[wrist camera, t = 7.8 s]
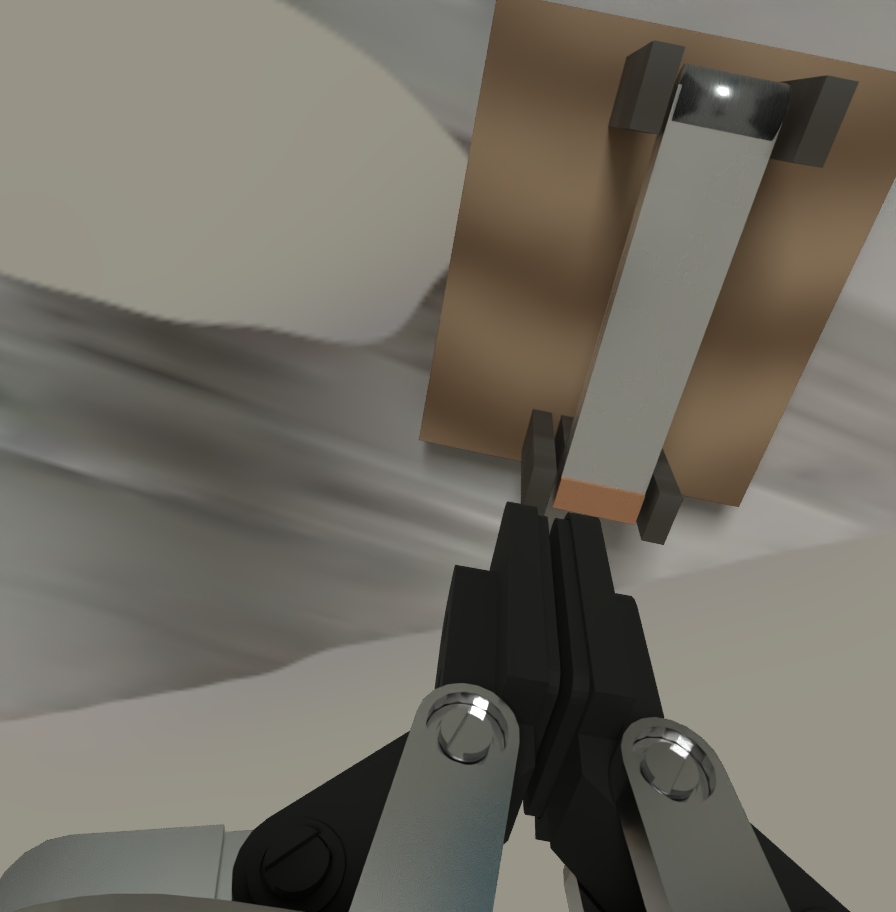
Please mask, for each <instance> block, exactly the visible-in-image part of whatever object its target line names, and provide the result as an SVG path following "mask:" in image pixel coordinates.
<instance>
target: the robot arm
mask: <svg viewBox="0 0 896 912" xmlns="http://www.w3.org/2000/svg"><path fill="white" fill-rule="evenodd" d="M522 800H523V807H524V813H525V815H531V816H535V836H536V839H537V840H543V841H548V842H550V846H551V849H552V850H553V851H554V852H555V854H556V855H557V856H558V857H559V858H560V859H561V861H562V862H563V863H564V864H565V866H564V871H563V873H564V886H565V891H566V897H567V902H568V907H569V912H850V911H849V910H848V909H847V908H845V907H844V906H843V905H842V904H841V903H840V902H839V901H838V900H836V899H835V898H834V897H833V896H832V895H831V894H830V893H829V892H827V891H826V890H825V889H824V888H823V887H822V886H821V885H820V884H818V883H817V882H816V881H815V880H814V879H813V878H812V877H811V876H809V875H808V874H807V873H806V872H805V871H804V870H803V869H802V868H800V867H799V866H798V865H797V864H796V863H795V862H794V861H793V860H791V859H790V858H789V857H788V856H787V855H786V854H785V853H784V852H782V851H781V850H780V849H779V848H778V847H777V846H776V845H775V844H774V843H772V842H771V841H770V840H769V839H768V838H767V837H766V836H765V835H763V834H762V833H761V832H760V831H759V830H758V829H757V828H755V827H754V826H753V825H752V824H751V823H750V822H749V820H748V818H747V816H746V813H745V811H744V809H743V807H742V805H741V803H740V800H739V798H738V796H737V794H736V792H735V790H734V787H733V786H732V783H731V781H730V779H729V777H728V774H727V772H726V770H725V768H724V766H723V764H722V762H721V761H720V759H719V757H718V756H717V754H716V753H715V751H714V750H713V749H712V748H711V746H709V744H708V743H707V742H706V741H705V740H704V739H703V738H702V737H700V736H699V735H698V734H696V733H695V732H693V731H692V730H691V729H689V728H688V727H686V726H684V725H681V724H679V723H677V722H675V721H672V720H668V719H664V714H663V711H662V706H661V702H660V698H659V694H658V690H657V686H656V682H655V677H654V673H653V669H652V665H651V661H650V657H649V653H648V649H647V645H646V640H645V636H644V633H643V628H642V624H641V620H640V616H639V612H638V608H637V604H636V602H635V600H634V598H633V597H632V596H628V595H622V594H617V593H615V591H614V586H613V581H612V577H611V572H610V567H609V562H608V557H607V552H606V547H605V543H604V538H603V533H602V528H601V523H600V520H599V518H597V517H592V516H586V515H580V514H575V513H567V515H566V516H565V519H558V518H556V519H555V520H554V522H553V525H552V528H551V531H550V535H549V527H548V518H547V516H541V515H538V509H537V507H536V506H530V505H524V504H519V503H513V502H507V503H506V506H505V509H504V513H503V517H502V521H501V525H500V530H499V534H498V538H497V542H496V546H495V550H494V554H493V558H492V562H491V566H490V571H487V570H481V569H476V568H470V567H465V566H459V565H455V568H454V572H453V576H452V581H451V586H450V591H449V596H448V601H447V606H446V612H445V617H444V623H443V630H442V637H441V644H440V652H439V660H438V668H437V675H436V683H435V690H433V691H432V692H431V693H430V694H429V695H427V696H426V697H425V698H424V699H423V701H422V703H421V704H420V706H419V708H418V710H417V713H416V715H415V718H414V721H413V724H412V727H411V730H410V731H409V732H407V733H405V734H404V735H402V736H401V737H399V738H397V739H396V740H394V741H393V742H391V743H389V744H388V745H386V746H384V747H383V748H381V749H380V750H378V751H376V752H375V753H373V754H371V755H370V756H368V757H367V758H365V759H363V760H362V761H360V762H358V763H357V764H355V765H353V766H352V767H350V768H349V769H347V770H345V771H344V772H342V773H341V774H339V775H337V776H336V777H334V778H332V779H331V780H329V781H327V782H326V783H324V784H323V785H321V786H319V787H318V788H316V789H314V790H313V791H311V792H310V793H308V794H306V795H305V796H303V797H302V798H300V799H298V800H297V801H295V802H293V803H292V804H290V805H289V806H287V807H285V808H284V809H282V810H280V811H279V812H277V813H276V814H274V815H272V816H271V817H269V818H268V819H266V820H265V821H264V822H263V823H262V824H260V825H259V826H258V827H257V828H255V829H254V830H246V831H232V832H224V825H209V826H194V827H180V828H166V829H151V830H135V831H121V832H105V833H91V834H76V835H68V836H63V837H59V838H55V839H50V840H47V841H45V842H43V843H41V844H40V845H38V846H36V847H35V848H33V849H31V850H29V851H27V852H25V853H24V854H23V855H22V856H21V857H20V858H19V859H18V860H17V861H16V862H15V863H14V864H12V866H10V867H9V868H8V869H7V870H6V871H5V872H4V874H3V875H2V877H1V879H0V912H492V911H493V905H494V899H495V892H496V886H497V880H498V874H499V867H500V861H501V855H502V849H503V844H505V843H506V842H507V841H508V839H509V836H510V834H511V831H512V828H513V825H514V822H515V820H516V817H517V814H518V812H519V809H520V806H521V804H522Z"/></svg>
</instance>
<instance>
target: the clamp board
mask: <svg viewBox="0 0 896 912" xmlns="http://www.w3.org/2000/svg"><path fill="white" fill-rule="evenodd" d="M685 63H687V64H692V65H697V66H702V67H706V68H711V69H716V70H721V71H726V72H731V73H736V74H741V75H746V76H751V77H756V78H761V79H766V80H771V81H776V82H781V83H786V84H789V85H790V89H791V94H790V101H789V105H788V109H787V112H786V115H785V117H784V120H783V123H782V125H781V128H780V131H779V133H778V136H777V139H776V142H775V144H774V147H773V150H772V152H771V155H770V158H769V160H768V163H767V166H766V169H765V171H764V174H763V177H762V179H761V182H760V185H759V187H758V190H757V193H756V196H755V198H754V201H753V204H752V206H751V209H750V212H749V215H748V217H747V220H746V223H745V225H744V228H743V231H742V233H741V236H740V239H739V242H738V244H737V247H736V250H735V252H734V255H733V258H732V260H731V263H730V266H729V269H728V271H727V274H726V277H725V279H724V282H723V285H722V287H721V290H720V293H719V296H718V298H717V301H716V304H715V306H714V309H713V312H712V315H711V317H710V320H709V323H708V325H707V328H706V331H705V333H704V336H703V339H702V342H701V344H700V347H699V350H698V352H697V355H696V358H695V360H694V363H693V366H692V369H691V371H690V374H689V377H688V379H687V382H686V385H685V387H684V390H683V393H682V396H681V398H680V401H679V404H678V406H677V409H676V412H675V415H674V417H673V420H672V423H671V425H670V428H669V431H668V433H667V436H666V439H665V442H664V444H663V447H662V450H661V452H660V455H659V458H658V460H657V463H656V466H655V469H654V471H653V474H652V477H651V479H650V482H649V485H648V487H647V490H646V493H645V498H644V501H643V504H642V506H641V509H640V512H639V514H638V517H637V520H636V522H637V525H638V529H639V533H640V536H641V540H642V541H647V542H652V543H657V544H661V545H664V543H665V541H666V538H667V536H668V533H669V531H670V529H671V526H672V524H673V522H674V519H675V517H676V515H677V512H678V510H679V507H680V505H681V503H682V500H683V496H682V495H684V496H688V497H693V498H698V499H703V500H707V501H712V502H717V503H722V504H726V505H731V506H736V507H739V505H740V503H741V501H742V499H743V497H744V495H745V493H746V491H747V488H748V486H749V484H750V482H751V480H752V478H753V476H754V474H755V472H756V470H757V467H758V465H759V463H760V461H761V459H762V457H763V455H764V453H765V451H766V448H767V446H768V444H769V442H770V440H771V438H772V436H773V434H774V432H775V430H776V427H777V425H778V423H779V421H780V419H781V417H782V415H783V413H784V411H785V408H786V406H787V404H788V402H789V400H790V398H791V396H792V394H793V392H794V390H795V387H796V385H797V383H798V381H799V379H800V377H801V375H802V373H803V371H804V369H805V366H806V364H807V362H808V360H809V358H810V356H811V354H812V352H813V350H814V347H815V345H816V343H817V341H818V339H819V337H820V335H821V333H822V331H823V329H824V326H825V324H826V322H827V320H828V318H829V316H830V314H831V312H832V310H833V307H834V305H835V303H836V301H837V299H838V297H839V295H840V293H841V291H842V289H843V286H844V284H845V282H846V280H847V278H848V276H849V274H850V272H851V270H852V268H853V265H854V263H855V261H856V259H857V257H858V255H859V253H860V251H861V249H862V246H863V244H864V242H865V240H866V238H867V236H868V234H869V232H870V230H871V228H872V225H873V223H874V221H875V219H876V217H877V215H878V213H879V211H880V209H881V206H882V204H883V202H884V200H885V198H886V196H887V194H888V192H889V190H890V188H891V185H892V183H893V181H894V179H895V177H896V72H894V71H889V70H884V69H879V68H874V67H869V66H864V65H859V64H854V63H849V62H844V61H840V60H835V59H830V58H825V57H820V56H815V55H810V54H805V53H800V52H795V51H790V50H785V49H780V48H775V47H770V46H765V45H760V44H755V43H750V42H745V41H740V40H735V39H731V38H726V37H721V36H716V35H711V34H706V33H701V32H696V31H691V30H686V29H681V28H676V27H671V26H666V25H661V24H656V23H651V22H646V21H641V20H636V19H631V18H626V17H622V16H617V15H612V14H607V13H602V12H597V11H592V10H587V9H582V8H577V7H572V6H567V5H562V4H557V3H552V2H547V1H542V0H496V5H495V10H494V16H493V22H492V27H491V33H490V39H489V44H488V50H487V56H486V61H485V67H484V73H483V78H482V84H481V90H480V95H479V101H478V107H477V113H476V118H475V124H474V130H473V135H472V141H471V147H470V152H469V158H468V164H467V170H466V175H465V181H464V186H463V192H462V198H461V204H460V209H459V215H458V221H457V226H456V232H455V237H454V243H453V249H452V254H451V260H450V266H449V271H448V277H447V283H446V288H445V294H444V300H443V305H442V311H441V317H440V322H439V328H438V334H437V339H436V345H435V351H434V356H433V362H432V368H431V374H430V379H429V385H428V391H427V396H426V402H425V408H424V413H423V419H422V425H421V430H420V436H419V440H421V441H426V442H431V443H436V444H440V445H445V446H450V447H455V448H459V449H464V450H469V451H474V452H479V453H483V454H488V455H493V456H498V457H502V458H507V459H512V460H517V461H521V504H524V505H530V506H536V507H537V509H538V515H541V516H544V514H545V510H546V507H547V504H548V500H549V497H550V494H551V490H552V488H553V485H554V481H555V478H556V474H557V471H558V468H559V464H560V462H561V459H562V456H563V452H564V449H565V445H566V442H567V439H568V435H569V432H570V428H571V425H572V422H573V418H574V415H575V411H576V408H577V405H578V401H579V398H580V394H581V391H582V388H583V384H584V381H585V377H586V374H587V371H588V367H589V364H590V360H591V357H592V354H593V350H594V347H595V343H596V340H597V337H598V333H599V330H600V326H601V323H602V320H603V316H604V313H605V309H606V306H607V303H608V299H609V296H610V292H611V289H612V286H613V282H614V279H615V275H616V272H617V269H618V265H619V262H620V258H621V255H622V252H623V248H624V245H625V241H626V238H627V235H628V231H629V228H630V224H631V221H632V218H633V214H634V211H635V207H636V204H637V201H638V197H639V194H640V190H641V187H642V184H643V180H644V177H645V173H646V170H647V167H648V163H649V160H650V156H651V153H652V150H653V146H654V143H655V139H656V136H657V134H658V135H659V133H660V129H661V126H662V123H663V119H664V116H665V113H666V110H667V106H668V103H669V100H670V96H671V93H672V90H673V86H674V83H675V80H676V78H677V76H678V73H679V71H680V70H681V68H682V66H683V65H684V64H685Z"/></svg>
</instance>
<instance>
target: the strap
mask: <svg viewBox="0 0 896 912" xmlns="http://www.w3.org/2000/svg"><path fill="white" fill-rule="evenodd" d="M790 94H791V89H790V85H789V84H786V83H781V82H776V81H771V80H766V79H761V78H756V77H751V76H746V75H741V74H736V73H731V72H726V71H721V70H716V69H711V68H706V67H702V66H697V65H692V64H687V63H685V64H684V65H683V66H682V68H681V70H680V71H679V73H678V76H677V78H676V80H675V83H674V86H673V90H672V93H671V96H670V100H669V103H668V106H667V110H666V113H665V116H664V119H663V123H662V126H661V129H660V133H659V135H658V134H657V136H656V139H655V143H654V146H653V150H652V153H651V156H650V160H649V163H648V167H647V170H646V173H645V177H644V180H643V184H642V187H641V190H640V194H639V197H638V201H637V204H636V207H635V211H634V214H633V218H632V221H631V224H630V228H629V231H628V235H627V238H626V241H625V245H624V248H623V252H622V255H621V258H620V262H619V265H618V269H617V272H616V275H615V279H614V282H613V286H612V289H611V292H610V296H609V299H608V303H607V306H606V309H605V313H604V316H603V320H602V323H601V326H600V330H599V333H598V337H597V340H596V343H595V347H594V350H593V354H592V357H591V360H590V364H589V367H588V371H587V374H586V377H585V381H584V384H583V388H582V391H581V394H580V398H579V401H578V405H577V408H576V411H575V415H574V418H573V422H572V425H571V428H570V432H569V435H568V439H567V442H566V445H565V449H564V452H563V456H562V459H561V462H560V464H559V468H558V471H557V474H556V478H555V481H554V485H553V488H552V491H551V497H552V507H553V508H557V509H562V510H566V511H571V512H576V513H581V514H585V515H590V516H595V517H600V518H604V519H609V520H614V521H619V522H623V523H628V524H633V525H635V523H636V520H637V517H638V514H639V512H640V509H641V506H642V504H643V501H644V498H645V493H646V490H647V487H648V485H649V482H650V479H651V477H652V474H653V471H654V469H655V466H656V463H657V460H658V458H659V455H660V452H661V450H662V447H663V444H664V442H665V439H666V436H667V433H668V431H669V428H670V425H671V423H672V420H673V417H674V415H675V412H676V409H677V406H678V404H679V401H680V398H681V396H682V393H683V390H684V387H685V385H686V382H687V379H688V377H689V374H690V371H691V369H692V366H693V363H694V360H695V358H696V355H697V352H698V350H699V347H700V344H701V342H702V339H703V336H704V333H705V331H706V328H707V325H708V323H709V320H710V317H711V315H712V312H713V309H714V306H715V304H716V301H717V298H718V296H719V293H720V290H721V287H722V285H723V282H724V279H725V277H726V274H727V271H728V269H729V266H730V263H731V260H732V258H733V255H734V252H735V250H736V247H737V244H738V242H739V239H740V236H741V233H742V231H743V228H744V225H745V223H746V220H747V217H748V215H749V212H750V209H751V206H752V204H753V201H754V198H755V196H756V193H757V190H758V187H759V185H760V182H761V179H762V177H763V174H764V171H765V169H766V166H767V163H768V160H769V158H770V155H771V152H772V150H773V147H774V144H775V142H776V139H777V136H778V133H779V131H780V128H781V125H782V123H783V120H784V117H785V115H786V112H787V109H788V105H789V101H790Z"/></svg>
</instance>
